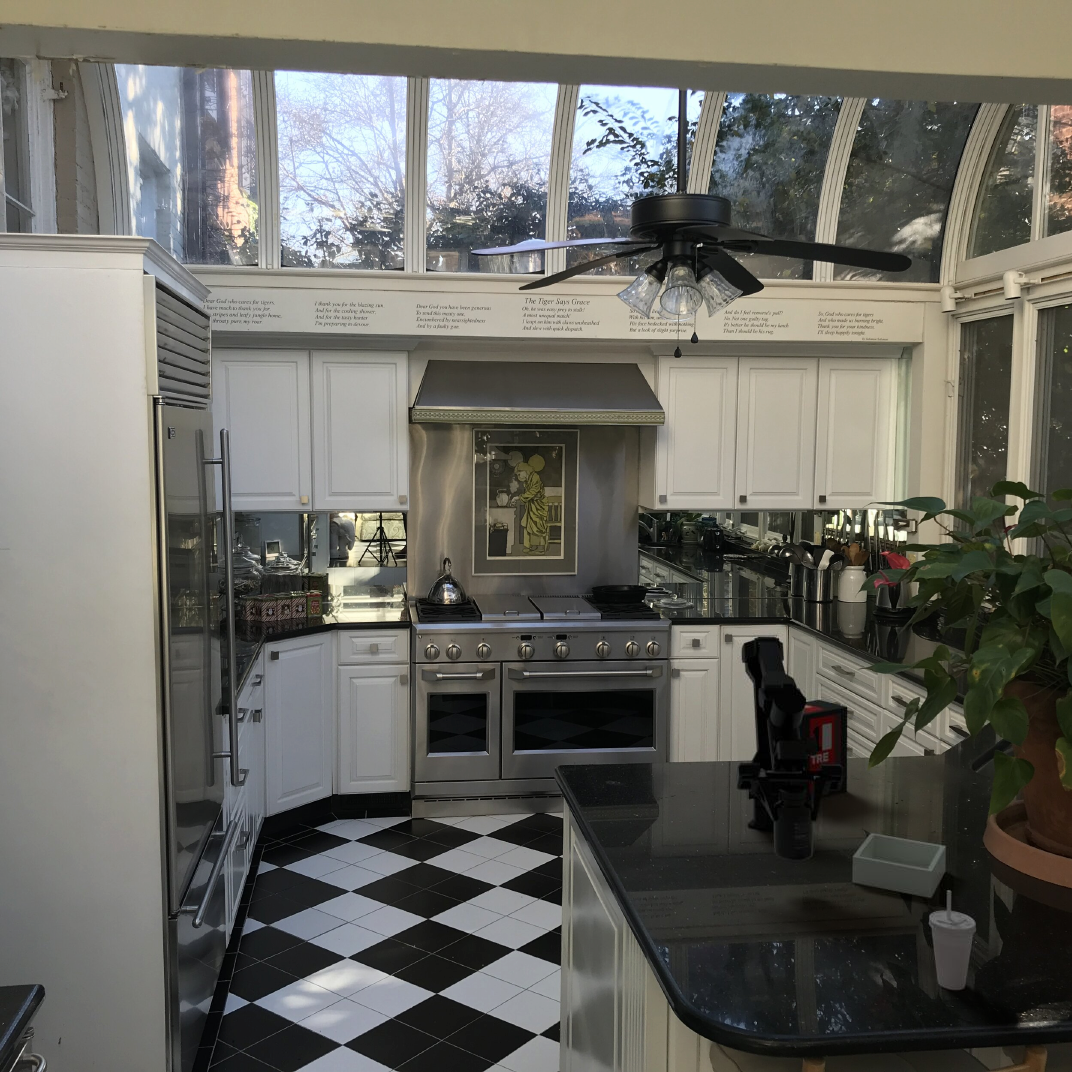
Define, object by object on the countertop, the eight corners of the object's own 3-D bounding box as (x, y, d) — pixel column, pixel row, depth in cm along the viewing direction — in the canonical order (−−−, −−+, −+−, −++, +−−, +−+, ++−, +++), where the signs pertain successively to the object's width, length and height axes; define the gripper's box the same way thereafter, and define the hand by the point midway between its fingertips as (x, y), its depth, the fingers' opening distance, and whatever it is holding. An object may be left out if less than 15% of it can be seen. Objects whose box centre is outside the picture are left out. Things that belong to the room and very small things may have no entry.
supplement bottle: (813, 848, 184) (814, 784, 183) (812, 863, 178) (812, 796, 177) (774, 845, 186) (775, 781, 185) (772, 859, 180) (772, 793, 179)
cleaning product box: (818, 781, 244) (818, 699, 242) (846, 791, 236) (847, 706, 235) (766, 793, 236) (766, 708, 234) (794, 804, 228) (794, 716, 226)
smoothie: (920, 974, 152) (921, 882, 151) (961, 971, 153) (962, 880, 152) (940, 996, 146) (942, 901, 145) (983, 993, 146) (985, 899, 145)
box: (870, 857, 197) (871, 833, 196) (945, 871, 190) (945, 846, 189) (852, 882, 185) (852, 856, 185) (931, 898, 178) (931, 871, 178)
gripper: (737, 719, 185) (745, 799, 175) (842, 720, 183) (856, 801, 173) (733, 749, 193) (739, 827, 183) (833, 750, 192) (845, 829, 182)
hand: (794, 820), depth 180 cm, fingers closed on supplement bottle, 7 cm apart
